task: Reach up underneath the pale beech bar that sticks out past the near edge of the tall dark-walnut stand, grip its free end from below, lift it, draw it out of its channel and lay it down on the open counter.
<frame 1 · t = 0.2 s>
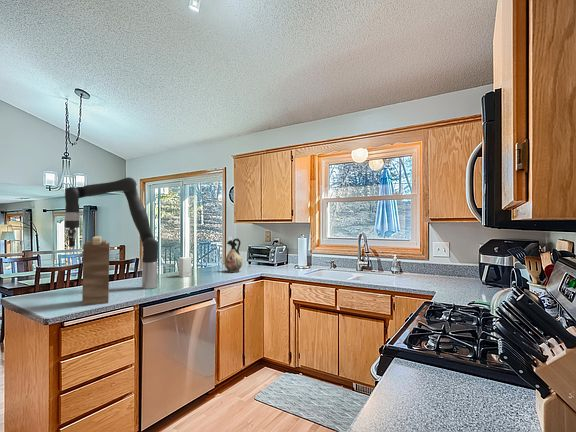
hand: (71, 246, 197), 29 cm above the counter, tool pointing down, fingers open, 8 cm apart
ceramic jug: (234, 272, 289), on the counter
beech bar: (97, 243, 182), point 32 cm above the counter, touching walnut stand
skincare box: (184, 276, 263), on the counter
walnut stand: (95, 301, 178), on the counter
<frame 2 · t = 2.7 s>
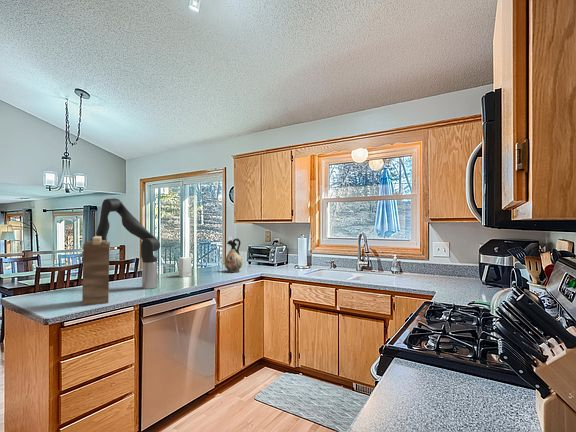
hand: (97, 245, 206), 29 cm above the counter, tool horizontal, fingers open, 8 cm apart
nothing on the counter moved.
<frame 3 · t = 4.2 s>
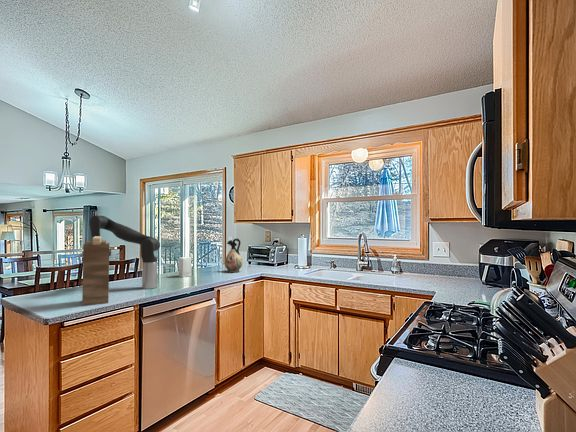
hand: (98, 247, 198), 28 cm above the counter, tool pointing upward, fingers open, 8 cm apart
nothing on the counter moved.
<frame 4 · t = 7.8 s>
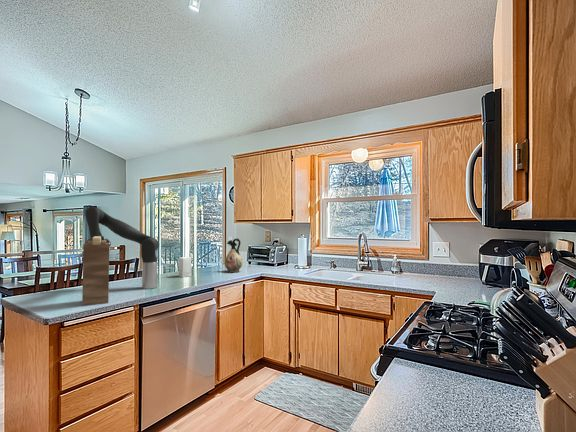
hand: (97, 237, 187), 35 cm above the counter, tool pointing upward, fingers closed on beech bar, 3 cm apart
beech bar: (97, 243, 182), point 32 cm above the counter, touching gripper, walnut stand
everything else where it was.
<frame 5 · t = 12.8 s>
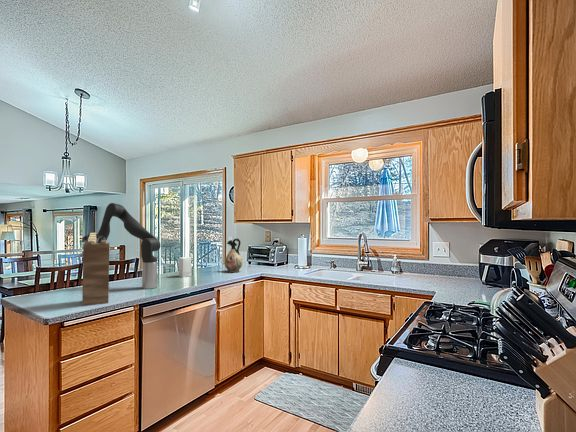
hand: (93, 235, 203), 36 cm above the counter, tool pointing upward, fingers closed on beech bar, 3 cm apart
beech bar: (92, 242, 199), point 31 cm above the counter, tilted 10°, touching gripper
everything else where it was.
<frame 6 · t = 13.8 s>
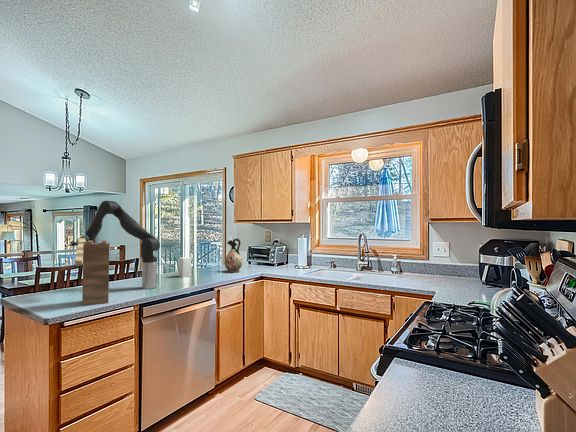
hand: (81, 244, 200), 30 cm above the counter, tool horizontal, fingers closed on beech bar, 3 cm apart
beech bar: (80, 253, 197), point 25 cm above the counter, tilted 28°, touching gripper
everything else where it was.
when the fingers open (13 cm above the counter, at t = 17.7 s): beech bar drops 8 cm, on the counter.
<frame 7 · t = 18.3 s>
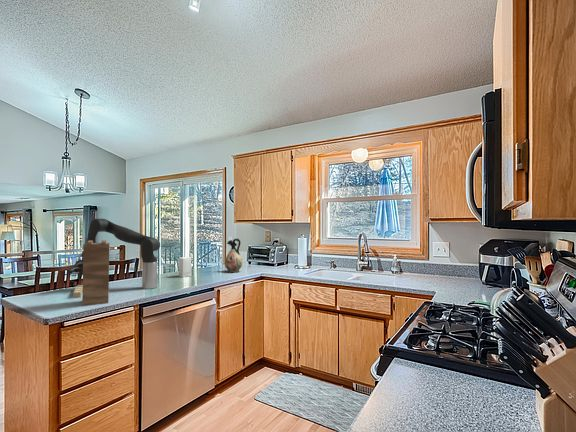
hand: (79, 271, 200), 13 cm above the counter, tool horizontal, fingers open, 8 cm apart
beech bar: (78, 294, 199), on the counter
everything else where it was.
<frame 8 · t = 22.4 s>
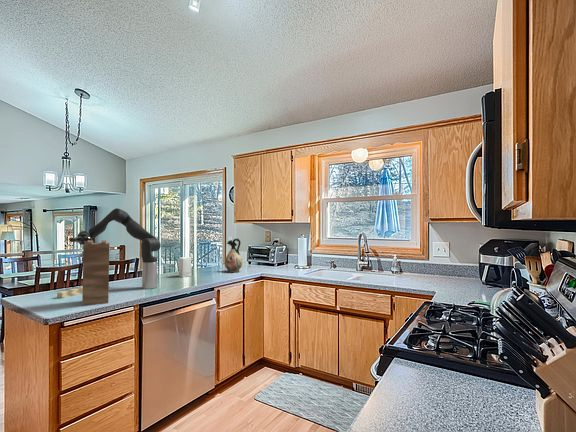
hand: (81, 240, 212), 32 cm above the counter, tool horizontal, fingers open, 8 cm apart
at the end: beech bar moved 42.5 cm from its start; beech bar on the counter; the gripper is holding nothing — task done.
